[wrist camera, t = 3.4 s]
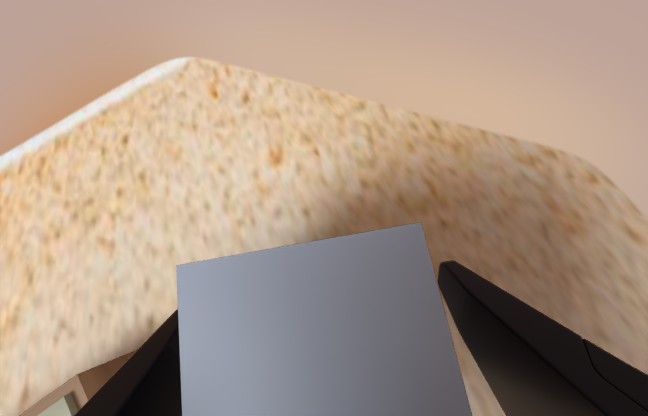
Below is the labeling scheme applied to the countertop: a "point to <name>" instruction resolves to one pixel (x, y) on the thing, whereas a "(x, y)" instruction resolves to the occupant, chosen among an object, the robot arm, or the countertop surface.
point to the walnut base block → (76, 390)
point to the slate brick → (319, 331)
